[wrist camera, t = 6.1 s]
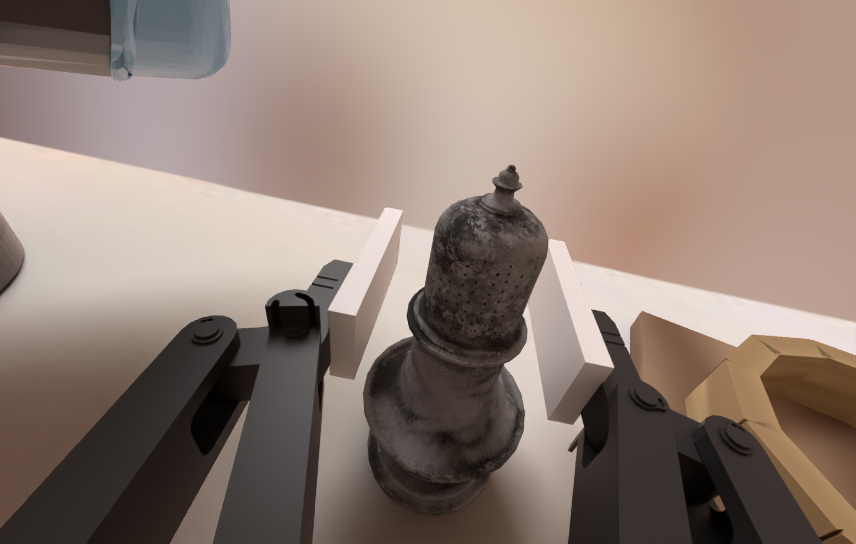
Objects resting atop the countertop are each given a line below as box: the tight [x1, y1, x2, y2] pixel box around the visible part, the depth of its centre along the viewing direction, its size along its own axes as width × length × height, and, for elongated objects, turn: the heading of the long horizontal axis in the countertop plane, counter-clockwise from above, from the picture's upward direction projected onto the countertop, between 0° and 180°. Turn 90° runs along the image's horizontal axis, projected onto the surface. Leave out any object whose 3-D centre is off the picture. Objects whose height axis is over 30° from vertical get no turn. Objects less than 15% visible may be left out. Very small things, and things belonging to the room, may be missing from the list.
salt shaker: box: [363, 165, 549, 515], centre depth 11 cm, size 6×6×12 cm
